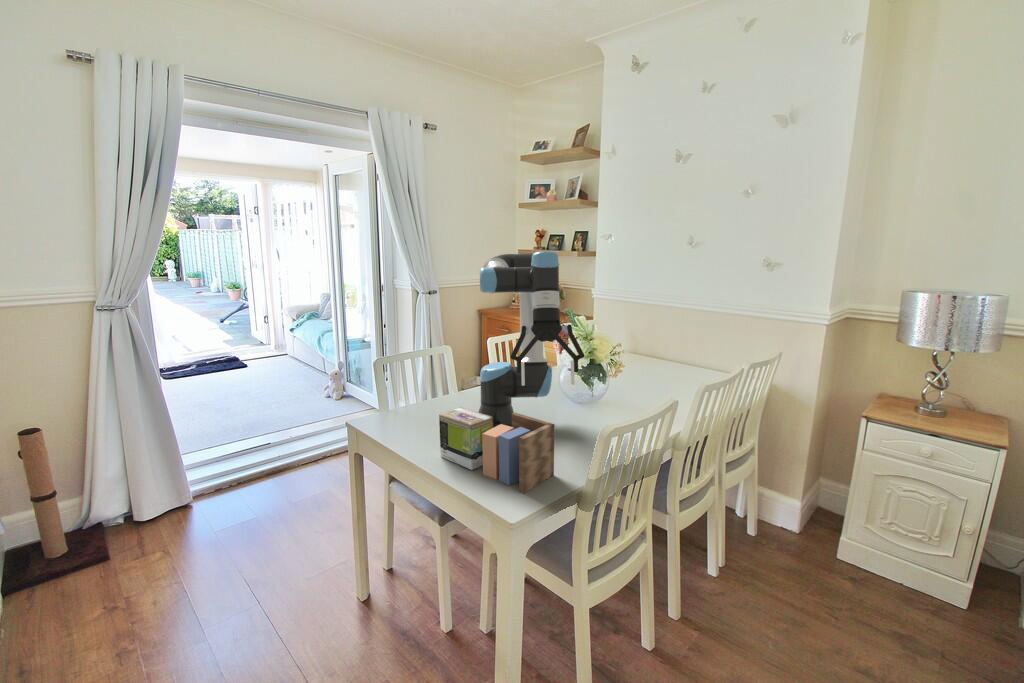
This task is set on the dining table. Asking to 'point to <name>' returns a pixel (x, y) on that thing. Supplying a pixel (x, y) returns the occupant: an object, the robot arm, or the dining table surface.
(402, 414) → the dining table surface
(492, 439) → the rust book
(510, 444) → the blue book
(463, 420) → the tea box
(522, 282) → the robot arm
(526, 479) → the shelf
